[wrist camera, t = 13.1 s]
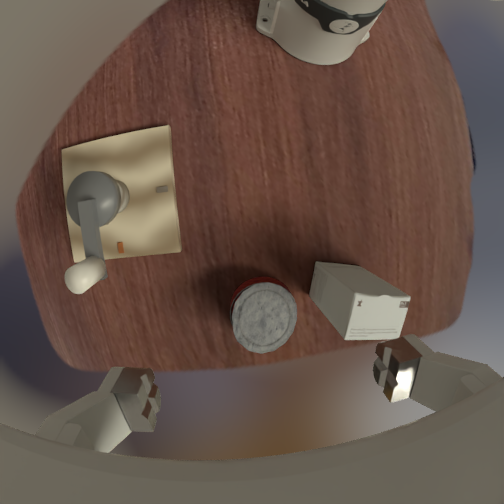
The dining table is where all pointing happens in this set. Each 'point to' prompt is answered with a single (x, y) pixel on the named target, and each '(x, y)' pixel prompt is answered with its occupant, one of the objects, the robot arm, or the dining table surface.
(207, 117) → the dining table surface
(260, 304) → the canned food
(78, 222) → the white knob lever
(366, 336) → the skincare box
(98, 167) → the mount board
